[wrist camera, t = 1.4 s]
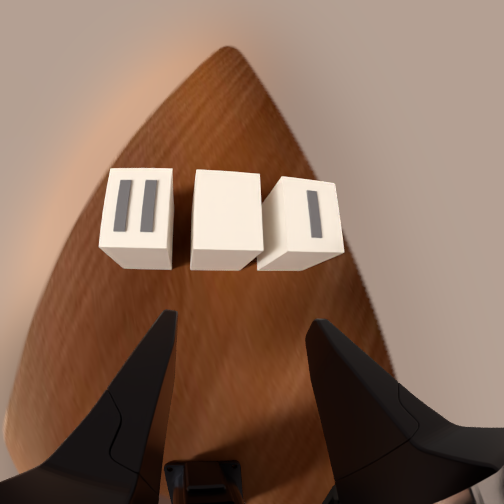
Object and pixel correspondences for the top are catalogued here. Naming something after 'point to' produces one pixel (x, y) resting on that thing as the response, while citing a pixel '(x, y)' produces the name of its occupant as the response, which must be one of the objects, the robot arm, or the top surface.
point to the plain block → (225, 220)
